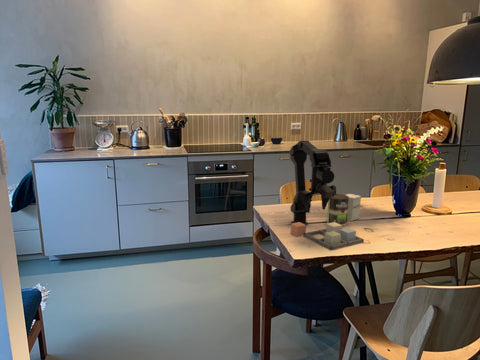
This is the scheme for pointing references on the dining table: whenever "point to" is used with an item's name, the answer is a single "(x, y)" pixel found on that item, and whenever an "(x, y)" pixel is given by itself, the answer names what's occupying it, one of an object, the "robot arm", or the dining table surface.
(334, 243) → the charcoal frame
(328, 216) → the coffee can
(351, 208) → the supplement box
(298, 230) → the terracotta block
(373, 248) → the dining table surface
